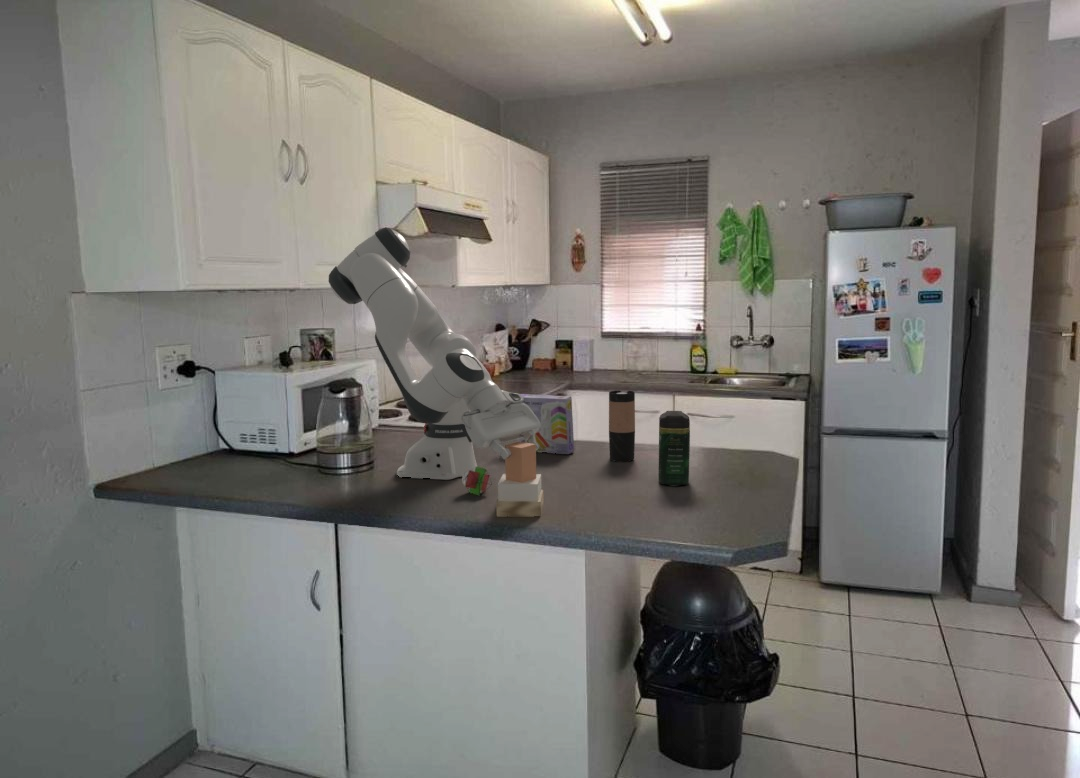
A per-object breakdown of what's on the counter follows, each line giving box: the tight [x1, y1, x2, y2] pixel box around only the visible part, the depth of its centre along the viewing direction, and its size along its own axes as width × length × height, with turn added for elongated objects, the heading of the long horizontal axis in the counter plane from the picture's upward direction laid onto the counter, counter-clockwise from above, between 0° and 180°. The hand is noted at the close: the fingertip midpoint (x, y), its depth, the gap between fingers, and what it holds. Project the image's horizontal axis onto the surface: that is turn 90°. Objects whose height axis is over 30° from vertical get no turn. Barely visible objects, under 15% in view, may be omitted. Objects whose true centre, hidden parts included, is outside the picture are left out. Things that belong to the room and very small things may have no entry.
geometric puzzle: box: [461, 466, 493, 497], centre depth 190 cm, size 7×7×8 cm
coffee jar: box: [658, 410, 691, 487], centre depth 197 cm, size 10×8×19 cm
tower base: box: [495, 489, 545, 518], centre depth 176 cm, size 10×10×4 cm
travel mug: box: [608, 390, 636, 462], centre depth 223 cm, size 8×8×20 cm
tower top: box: [497, 473, 542, 502], centre depth 175 cm, size 9×9×4 cm
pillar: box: [504, 441, 537, 483], centre depth 174 cm, size 5×5×8 cm
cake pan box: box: [516, 393, 575, 455], centre depth 235 cm, size 19×5×18 cm, turn 61°
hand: (522, 453), depth 174 cm, fingers open, 8 cm apart
